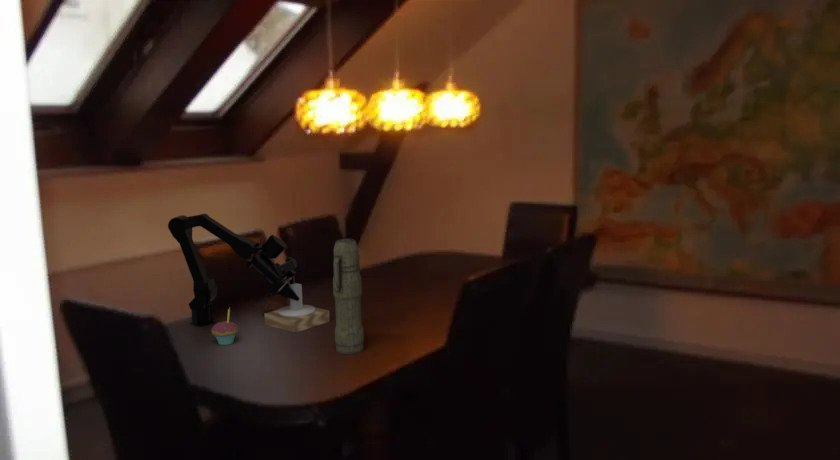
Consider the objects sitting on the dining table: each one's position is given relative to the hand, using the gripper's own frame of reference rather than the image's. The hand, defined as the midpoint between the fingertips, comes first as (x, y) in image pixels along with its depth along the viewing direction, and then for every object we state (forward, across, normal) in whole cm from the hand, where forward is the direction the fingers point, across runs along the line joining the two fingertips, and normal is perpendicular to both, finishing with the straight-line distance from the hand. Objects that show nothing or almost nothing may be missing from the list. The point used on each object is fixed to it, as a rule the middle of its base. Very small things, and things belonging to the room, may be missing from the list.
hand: (300, 298), depth 261 cm
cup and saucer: (-1, +12, +15) cm, 19 cm away
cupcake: (-8, -22, +21) cm, 31 cm away
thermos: (+22, -29, -9) cm, 38 cm away
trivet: (+5, 0, +7) cm, 9 cm away
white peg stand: (+3, 0, +5) cm, 5 cm away
